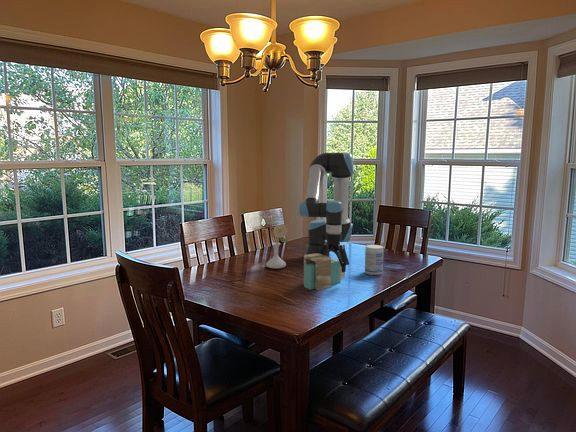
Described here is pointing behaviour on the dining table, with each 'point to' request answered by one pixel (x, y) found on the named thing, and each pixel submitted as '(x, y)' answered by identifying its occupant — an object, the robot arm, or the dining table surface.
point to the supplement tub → (374, 259)
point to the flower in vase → (276, 260)
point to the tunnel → (320, 269)
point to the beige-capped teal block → (311, 272)
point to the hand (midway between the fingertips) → (332, 275)
